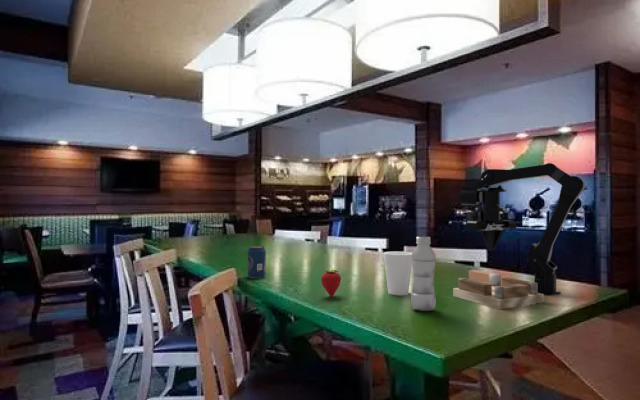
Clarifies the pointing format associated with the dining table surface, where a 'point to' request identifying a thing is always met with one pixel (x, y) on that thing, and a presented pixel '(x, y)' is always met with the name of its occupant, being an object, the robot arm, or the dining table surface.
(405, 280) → the foam cup
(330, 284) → the strawberry
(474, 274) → the hinged leg
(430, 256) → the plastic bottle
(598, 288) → the dining table surface
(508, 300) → the flat cream base board
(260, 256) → the soda can
